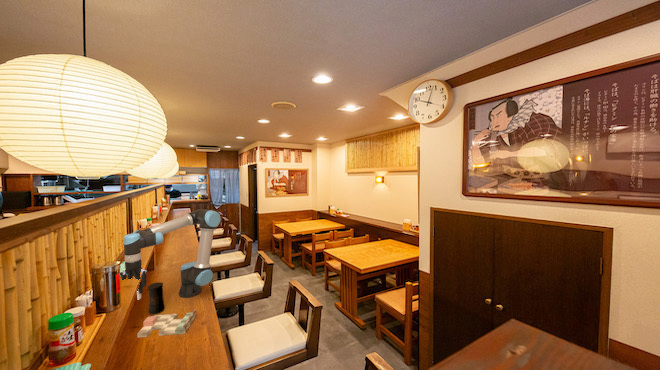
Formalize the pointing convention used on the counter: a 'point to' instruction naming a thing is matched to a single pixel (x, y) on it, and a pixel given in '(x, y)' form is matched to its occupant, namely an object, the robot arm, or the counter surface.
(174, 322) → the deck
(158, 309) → the container
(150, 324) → the block
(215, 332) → the counter surface
